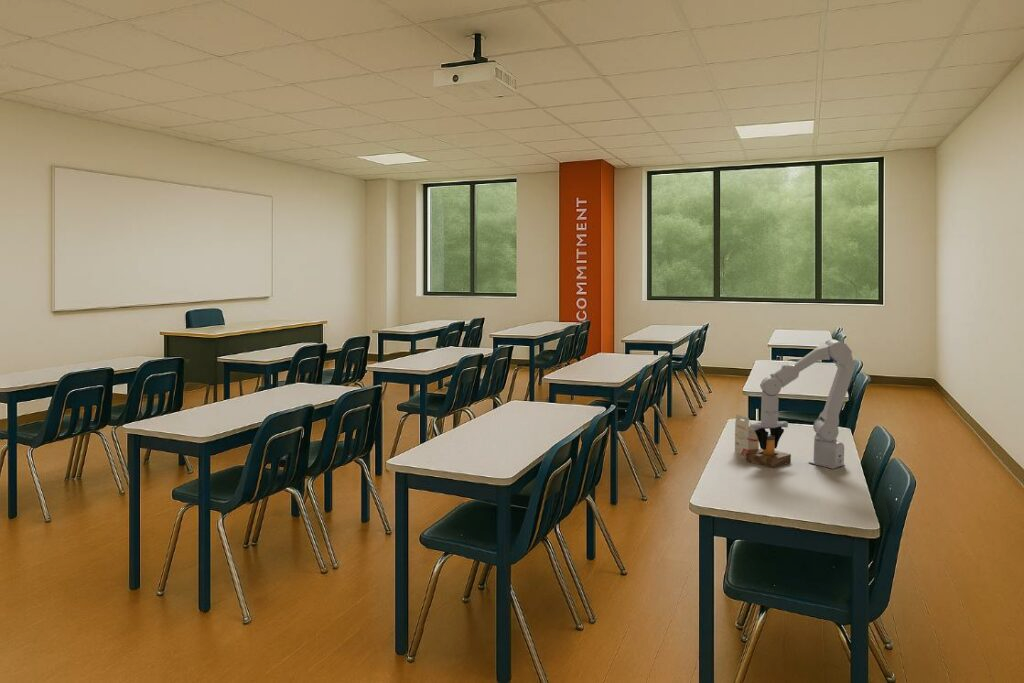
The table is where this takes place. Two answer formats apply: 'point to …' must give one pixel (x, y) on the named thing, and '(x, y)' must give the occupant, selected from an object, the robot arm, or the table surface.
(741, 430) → the ink cartridge box
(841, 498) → the table surface
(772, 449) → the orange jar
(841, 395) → the robot arm
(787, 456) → the socket block
